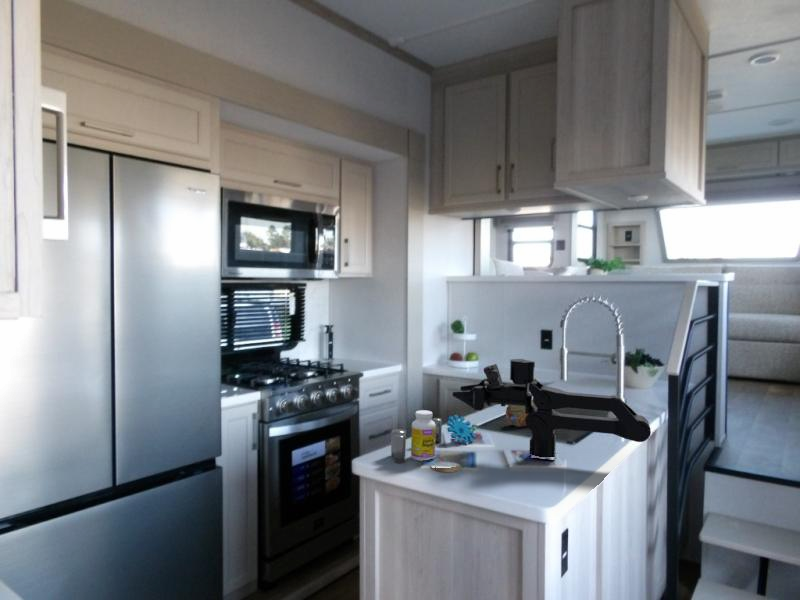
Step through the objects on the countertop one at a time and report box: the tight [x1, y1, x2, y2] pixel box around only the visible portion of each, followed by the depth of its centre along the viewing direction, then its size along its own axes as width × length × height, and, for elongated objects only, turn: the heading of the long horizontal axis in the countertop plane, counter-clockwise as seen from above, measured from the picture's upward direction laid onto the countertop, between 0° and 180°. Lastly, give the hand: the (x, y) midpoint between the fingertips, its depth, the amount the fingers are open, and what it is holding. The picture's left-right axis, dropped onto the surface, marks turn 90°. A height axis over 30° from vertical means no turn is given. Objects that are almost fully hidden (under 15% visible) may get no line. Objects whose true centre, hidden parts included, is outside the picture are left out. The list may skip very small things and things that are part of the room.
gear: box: [445, 414, 477, 444], centre depth 176 cm, size 11×6×10 cm
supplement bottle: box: [410, 409, 436, 462], centre depth 158 cm, size 7×7×13 cm
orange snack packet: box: [505, 399, 536, 428], centre depth 196 cm, size 15×3×8 cm, turn 114°
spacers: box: [390, 417, 443, 464], centre depth 165 cm, size 10×24×7 cm, turn 159°
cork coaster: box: [431, 464, 462, 473], centre depth 151 cm, size 8×8×1 cm
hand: (456, 391), depth 169 cm, fingers open, 9 cm apart
